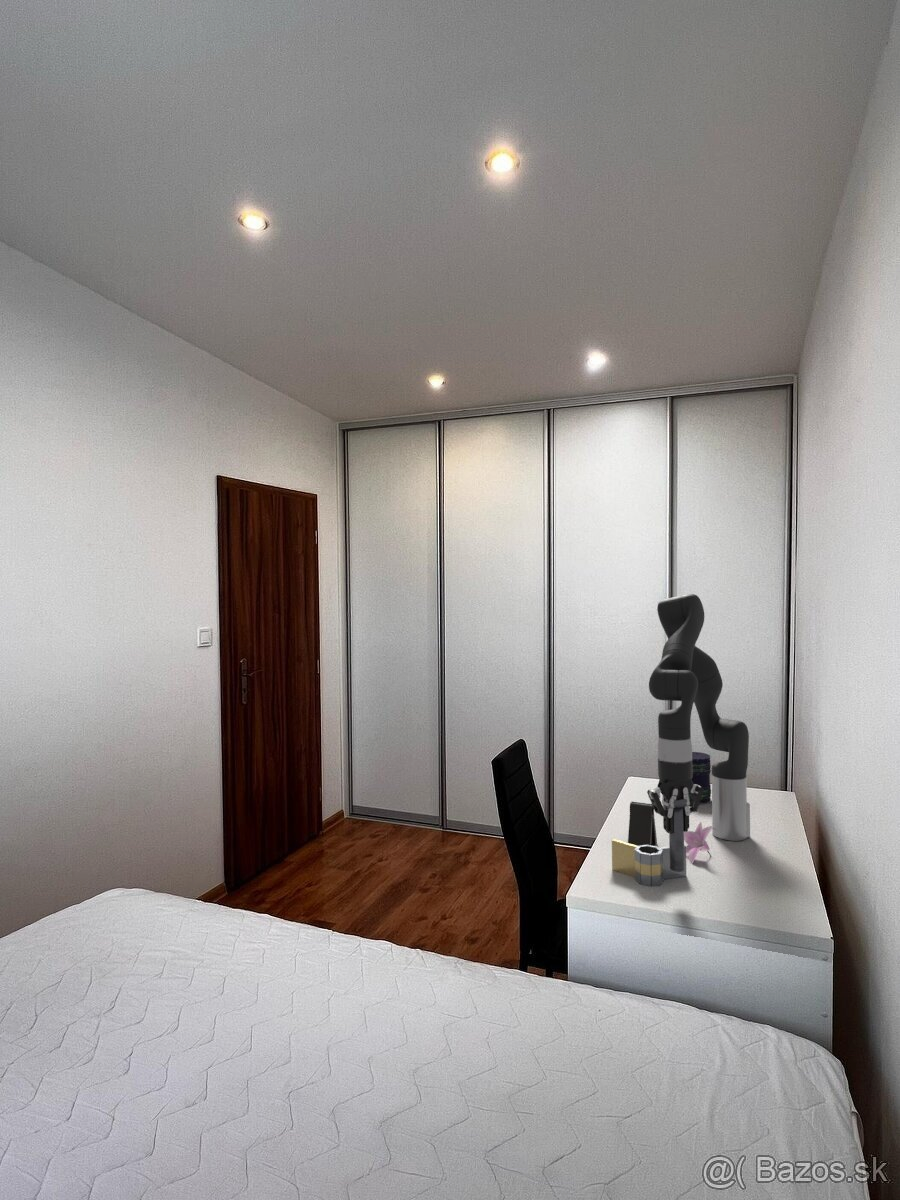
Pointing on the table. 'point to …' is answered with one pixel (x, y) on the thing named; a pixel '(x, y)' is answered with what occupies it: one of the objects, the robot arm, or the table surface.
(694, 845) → the lily
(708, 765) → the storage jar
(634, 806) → the phone stand
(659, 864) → the hinge
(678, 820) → the hinge pin
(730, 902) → the table surface
